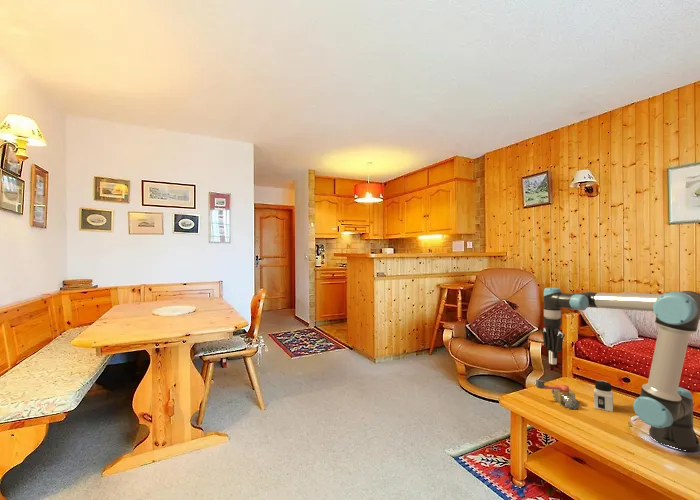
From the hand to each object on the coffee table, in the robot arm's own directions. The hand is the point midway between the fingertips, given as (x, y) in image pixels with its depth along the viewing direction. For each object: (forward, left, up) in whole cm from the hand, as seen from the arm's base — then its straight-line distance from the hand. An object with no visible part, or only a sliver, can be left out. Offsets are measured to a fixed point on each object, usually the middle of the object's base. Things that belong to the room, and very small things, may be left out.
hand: (552, 363), depth 170 cm
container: (+4, -25, -23) cm, 34 cm away
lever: (+6, -2, -16) cm, 17 cm away
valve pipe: (+7, -8, -22) cm, 25 cm away
